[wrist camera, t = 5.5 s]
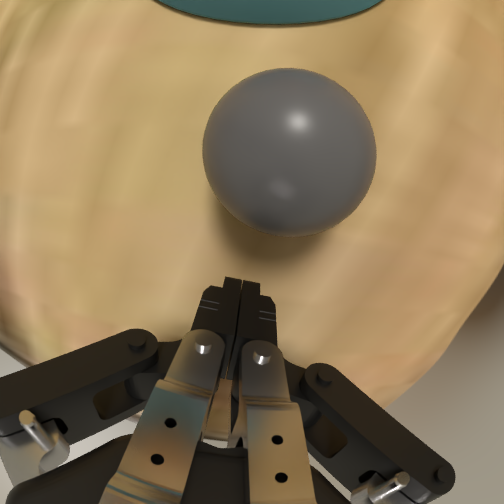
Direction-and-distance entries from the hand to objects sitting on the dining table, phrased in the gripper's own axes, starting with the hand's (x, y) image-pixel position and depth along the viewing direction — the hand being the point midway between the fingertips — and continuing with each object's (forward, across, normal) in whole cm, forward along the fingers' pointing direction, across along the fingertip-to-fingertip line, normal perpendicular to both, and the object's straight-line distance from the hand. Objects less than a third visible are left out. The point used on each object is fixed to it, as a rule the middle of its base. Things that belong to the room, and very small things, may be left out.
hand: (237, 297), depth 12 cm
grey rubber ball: (-1, -1, -6) cm, 6 cm away
